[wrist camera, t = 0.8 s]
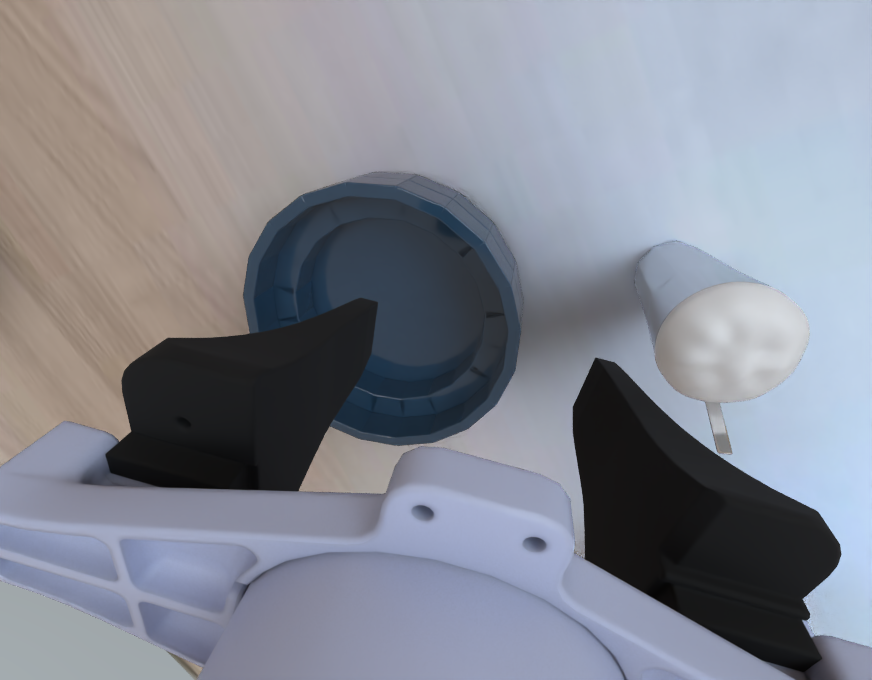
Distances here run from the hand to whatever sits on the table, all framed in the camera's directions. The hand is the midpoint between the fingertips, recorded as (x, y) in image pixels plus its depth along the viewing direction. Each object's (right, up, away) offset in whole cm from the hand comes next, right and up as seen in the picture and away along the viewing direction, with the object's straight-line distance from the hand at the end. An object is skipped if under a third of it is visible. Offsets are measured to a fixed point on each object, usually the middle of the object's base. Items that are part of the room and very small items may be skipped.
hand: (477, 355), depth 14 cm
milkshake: (+10, +4, +8) cm, 14 cm away
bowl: (-3, +3, +12) cm, 12 cm away
